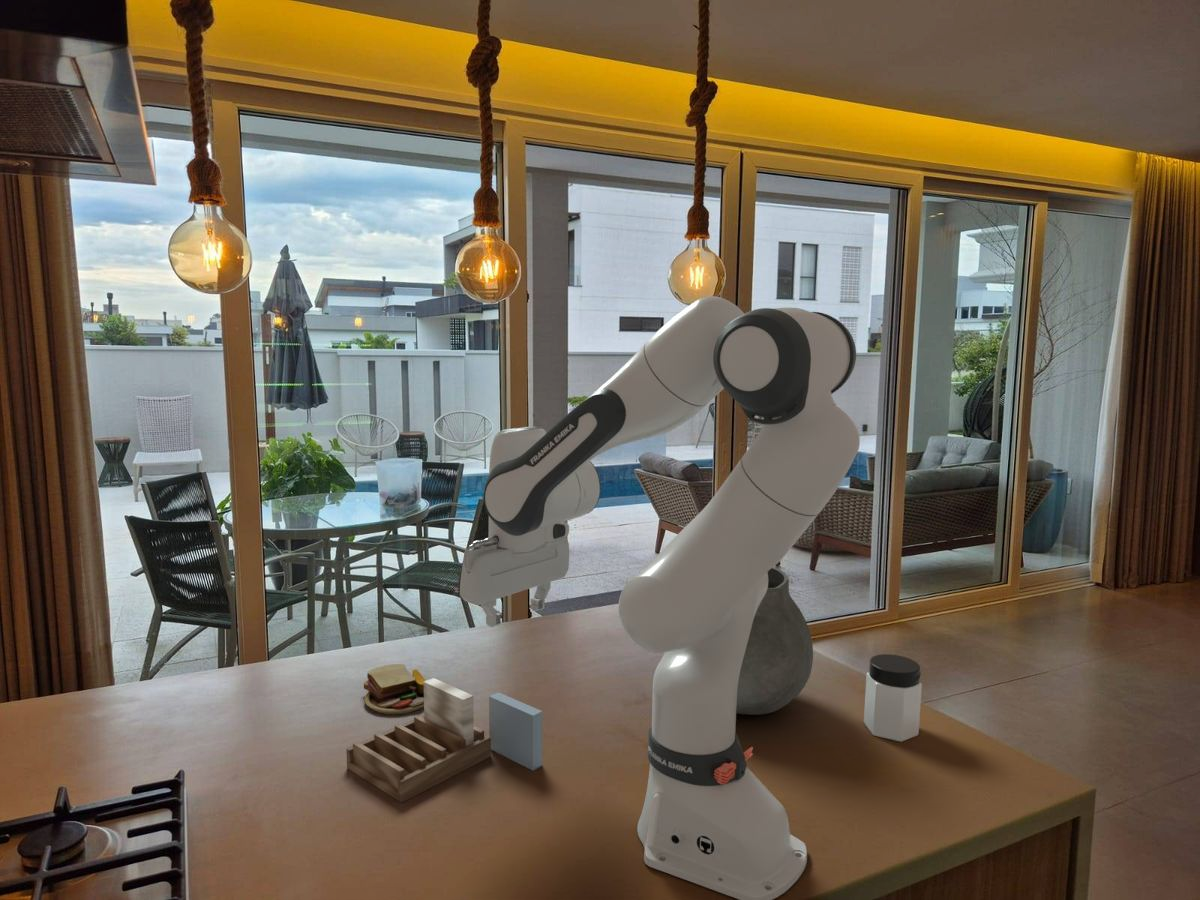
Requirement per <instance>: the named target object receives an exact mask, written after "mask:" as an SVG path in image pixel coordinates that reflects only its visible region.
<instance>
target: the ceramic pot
mask: <svg viewBox="0 0 1200 900" xmlns="http://www.w3.org/2000/svg"><path fill="white" fill-rule="evenodd" d="M789 582H790V581H789V577H788V575H787V574H786V573H785V572H784V571H783V570H781V569H779V568H775V567H772V568H771V569H770V570H769V571H768V588H767V591H766V594H765V596H764V598H763V599H762V601H761V603H760V605H759V607H758V609H757V611H756V614H755V617H754V620H753V624H752V627H751V631H750V635H749V639H748V643H747V646H746V650H745V654H744V658H743V662H742V666H741V670H740V675H739V681H738V689H737V707H736V714H740V715H749V716H752V715H753V716H760V715H761V716H762V715H767V714H771V713H774V712H777V711H778V710H781V709H782V708H784V707H785V706H786V705H788V704H790V702H792V701H793V700H794V699H795V698H796V697H797V696H799V694H800V693H801V692H802V690H803V689H804V688H805V687H806V684H807V683H808V681H809V679H810V676H811V673H812V669H813V662H814V646H813V638H812V634H811V631H810V628H809V625H808V623H807V620H806V618H805V616H804V614H803V612H802V610H801V609H800V608H799V606H798V604H797V603H796V602H795V601H794V599H793V598H792V596H791V594H790V591H789V589H790V588H789V587H790V583H789Z"/></svg>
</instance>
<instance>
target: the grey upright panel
mask: <svg viewBox="0 0 1200 900" xmlns="http://www.w3.org/2000/svg"><path fill="white" fill-rule="evenodd" d="M488 697H489V699H488V700H489V701H488V702H489V703H488V705H489V707H488V711H489V713H488V717H489V724H488V725H489V733H488V734H489V735H488V736H489V737H491V751H494V752H496V753H497V754H499V755H501V756H503V757H506V758H508V759H509V760H511V761H513V762H515V763H517V764H519V765H521V766H523V767H525V768H527V769H529V770H531V771H535V770H537V769H539V768H540V767H542V766H543V711H542V710H540V709H538V708H536V707H534V706H531V705H529V704H527V703H524V702H522V701H520V700H517V699H516V698H512V697H510V696H508V695H506V694H504V693H501V692H495V693H493V694H491V695H489V696H488Z"/></svg>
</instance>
